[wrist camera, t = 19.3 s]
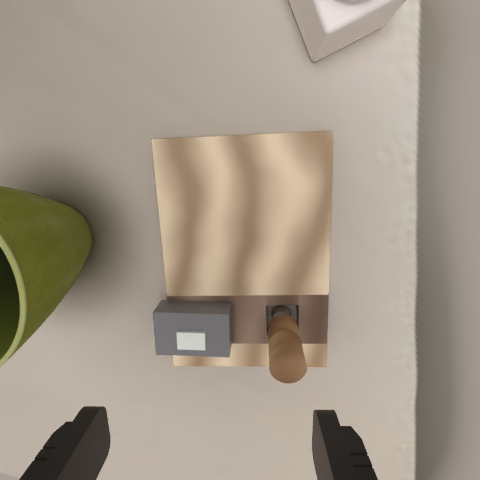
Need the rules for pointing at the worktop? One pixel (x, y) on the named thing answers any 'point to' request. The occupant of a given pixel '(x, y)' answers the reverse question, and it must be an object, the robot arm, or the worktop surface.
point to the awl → (285, 347)
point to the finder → (193, 328)
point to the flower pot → (36, 262)
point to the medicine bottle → (339, 22)
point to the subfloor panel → (249, 233)
